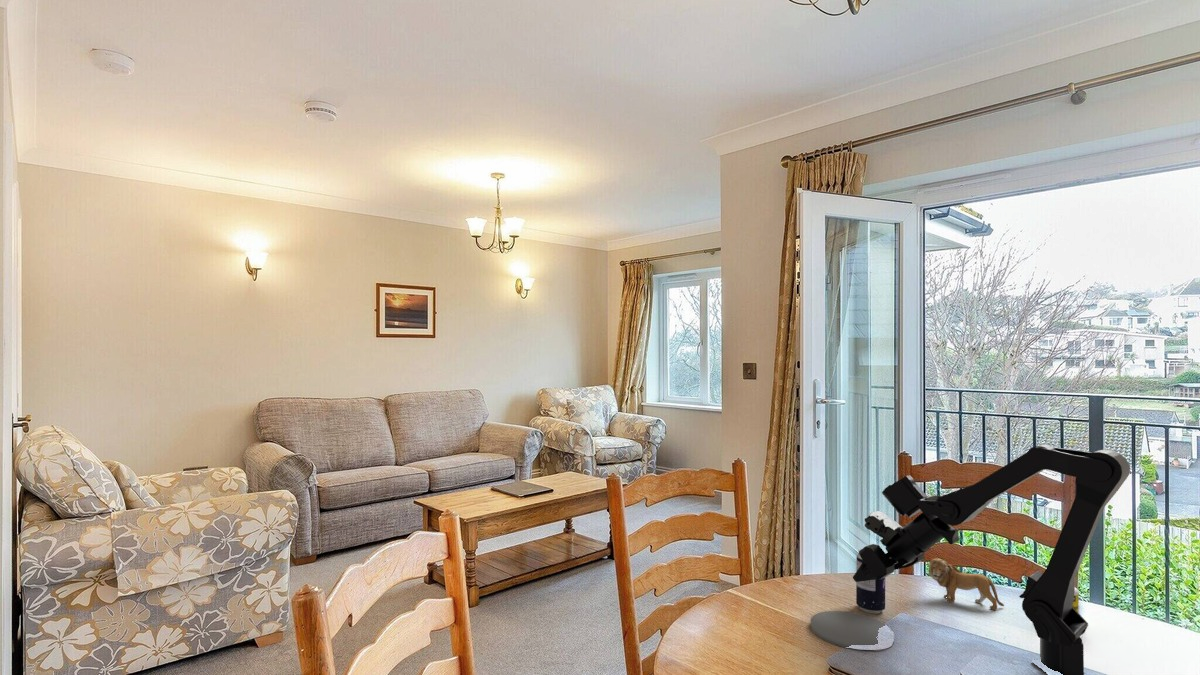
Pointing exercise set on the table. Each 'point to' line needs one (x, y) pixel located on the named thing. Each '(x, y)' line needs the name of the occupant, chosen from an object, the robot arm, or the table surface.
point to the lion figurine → (962, 582)
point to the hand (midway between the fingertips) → (865, 575)
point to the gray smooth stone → (846, 628)
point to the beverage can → (870, 593)
